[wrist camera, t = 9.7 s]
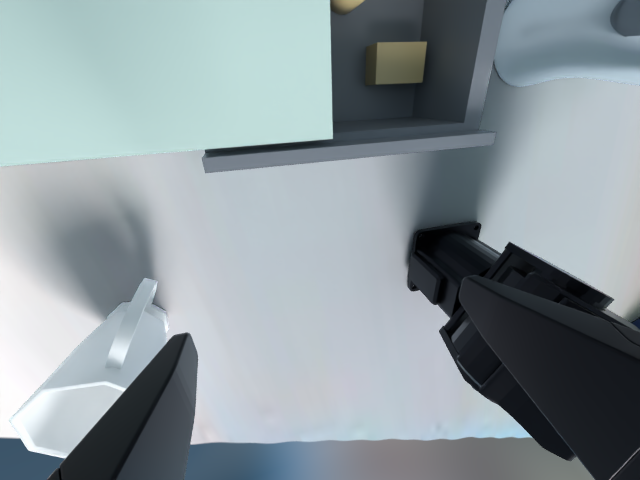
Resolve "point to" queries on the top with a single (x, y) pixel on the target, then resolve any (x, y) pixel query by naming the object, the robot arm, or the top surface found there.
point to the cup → (93, 376)
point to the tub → (395, 83)
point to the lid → (160, 76)
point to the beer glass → (569, 41)
